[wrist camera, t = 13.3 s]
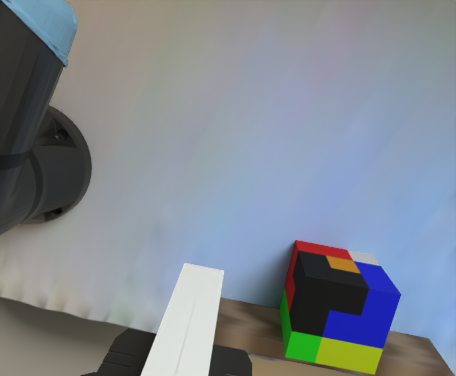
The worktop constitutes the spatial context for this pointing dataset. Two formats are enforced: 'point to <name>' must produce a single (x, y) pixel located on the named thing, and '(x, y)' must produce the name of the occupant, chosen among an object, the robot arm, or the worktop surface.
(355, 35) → the worktop surface
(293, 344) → the puzzle toy
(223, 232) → the worktop surface
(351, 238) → the worktop surface
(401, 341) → the walnut board
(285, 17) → the worktop surface
